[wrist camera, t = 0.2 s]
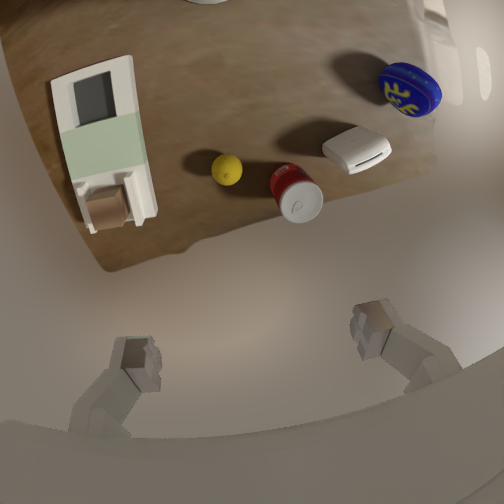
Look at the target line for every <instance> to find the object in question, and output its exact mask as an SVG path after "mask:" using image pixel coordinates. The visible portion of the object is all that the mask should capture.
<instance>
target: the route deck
mask: <svg viewBox="0 0 504 504" xmlns="http://www.w3.org/2000/svg"><path fill="white" fill-rule="evenodd" d="M107 72H108V73H107ZM104 73H105V74H104ZM101 74H102V75H101ZM97 75H98V76H97ZM94 76H95V77H94ZM91 77H92V78H91ZM88 78H89V79H88ZM85 79H86V80H85ZM82 80H83V81H82ZM79 81H80V82H79ZM76 82H77V83H76ZM51 87H52V94H53V100H54V106H55V112H56V117H57V123H58V127H59V132H60V137H61V141H62V146H63V150H64V154H65V158H66V162H67V166H68V170H69V173H70V177H71V181H72V184H73V187H74V191H75V194H76V197H77V201H78V204H79V207H80V210H81V213H82V216H83V219H84V222H85V225H86V228H89V229H90V232H91V234H92V233H96V232H97V231H95V230H94V227H93V224H92V221H91V218H90V215H89V212H88V209H87V206H86V203H85V202H86V201H87V200H88V198H89V197H90V196H91V195H92V193H93V192H94V191H95V190H96V189H100V188H104V187H109V186H114V185H119V184H123V185H124V189H125V193H126V197H127V201H128V205H129V209H130V213H129V215H128V217H127V219H126V221H130V220H135V223H136V226H142V225H143V222H144V219H145V218H149V217H156V214H157V212H158V207H157V203H156V198H155V194H154V189H153V184H152V180H151V175H150V170H149V165H148V160H147V154H146V149H145V143H144V138H143V132H142V126H141V119H140V113H139V106H138V99H137V92H136V85H135V77H134V68H133V59H132V56H130V55H126V56H122V57H118V58H115V59H111V60H108V61H104V62H101V63H98V64H95V65H92V66H89V67H86V68H83V69H80V70H77V71H74V72H72V73H69V74H66V75H64V76H61V77H59V78H56V79H54V80H52V81H51ZM116 115H117V116H116ZM112 116H113V117H112ZM108 117H109V118H108ZM104 118H106V119H104ZM101 119H102V120H101ZM97 120H98V121H97ZM93 121H95V122H93ZM90 122H91V123H90ZM87 123H88V124H87ZM83 124H84V125H83Z"/></svg>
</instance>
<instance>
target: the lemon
mask: <svg viewBox="0 0 504 504" xmlns="http://www.w3.org/2000/svg"><path fill="white" fill-rule="evenodd" d="M241 174H242V164H241V162H240V160H239V159H238V158H237V157H235V156H234V155H231V154H222V155H220V156H218V157H217V158H216V159H215V160H214V162H213V164H212V175H213V177H214V179H215V180H216V181H217V182H218V183H220V184H222V185H226V186H227V185H232V184H234V183H236V182H237V181H238V180H239V179H240V177H241Z"/></svg>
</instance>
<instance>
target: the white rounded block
mask: <svg viewBox="0 0 504 504" xmlns="http://www.w3.org/2000/svg"><path fill="white" fill-rule="evenodd" d="M322 145H323V146H322V151H323V153H324V155H325V156H327V157H328V158H329V159H330V160H331V161H332V162H333V163H335V164H336V165H337V166H338V167H340V168H341V169H342V170H343V171H345V172H346V173H347V174H353V173H357V172H360V171H363V170H365V169H367V168H370V167H372V166H373V165H375V164H377V163H379V162H380V161H382V160H383V159H385V158H386V157H387V156H388V155H389V154H390V153H391V151H392V150H391V148H390V144H389V142H388V141H387V139H386V138H385V137H384V136H382V135H380V134H378V133H375V132H373V131H371V130H369V129H366V128H364V127H361V126H358V127H354V128H352V129H349V130H347V131H345V132H343V133H341V134H339V135H337V136H335V137H333V138H331V139H329V140H328V141H326V142H325V143H323V144H322Z"/></svg>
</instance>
